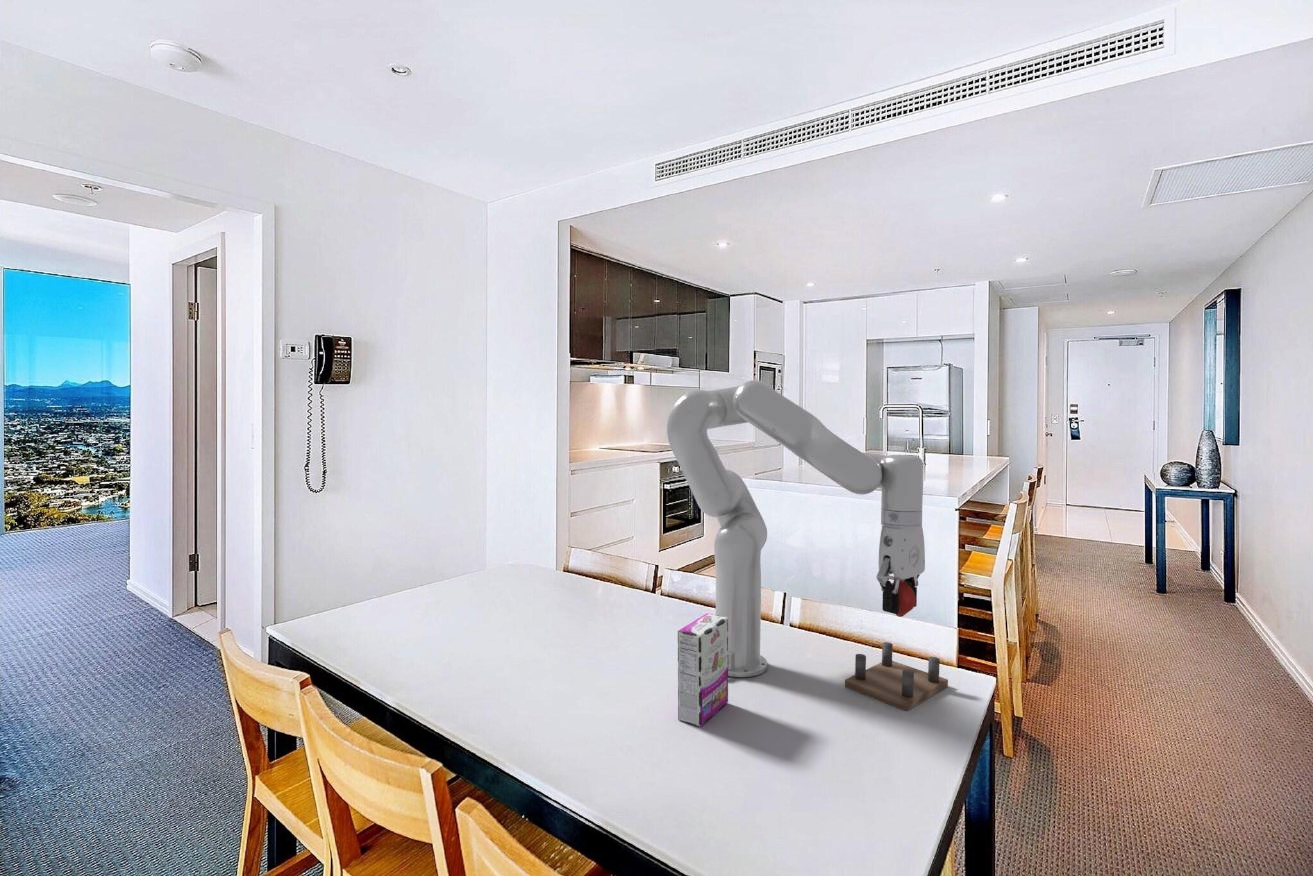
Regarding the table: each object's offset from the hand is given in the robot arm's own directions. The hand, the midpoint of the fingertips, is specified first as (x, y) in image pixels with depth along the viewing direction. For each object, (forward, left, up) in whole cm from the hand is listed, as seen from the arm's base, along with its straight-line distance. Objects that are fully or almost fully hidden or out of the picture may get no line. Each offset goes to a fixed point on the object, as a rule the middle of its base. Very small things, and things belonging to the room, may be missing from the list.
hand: (899, 607), depth 127 cm
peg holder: (0, 0, -16) cm, 16 cm away
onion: (0, 0, -2) cm, 2 cm away
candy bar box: (-37, +17, -16) cm, 44 cm away
